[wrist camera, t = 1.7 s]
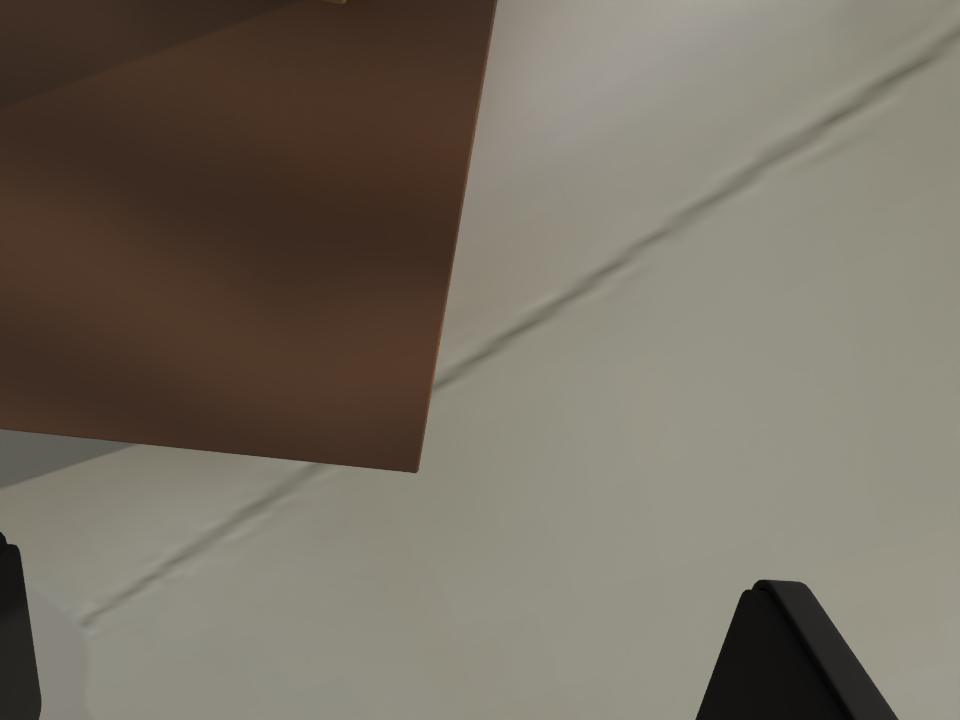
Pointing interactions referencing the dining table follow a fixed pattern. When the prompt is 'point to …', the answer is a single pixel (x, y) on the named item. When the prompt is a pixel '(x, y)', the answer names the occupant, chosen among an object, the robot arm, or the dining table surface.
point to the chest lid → (233, 219)
